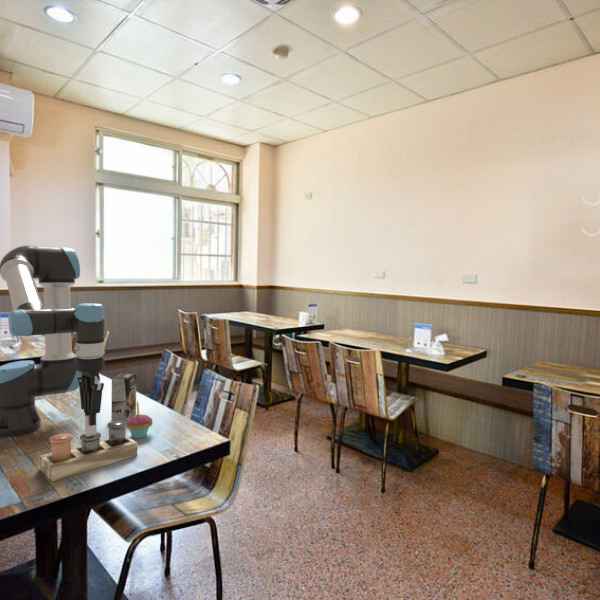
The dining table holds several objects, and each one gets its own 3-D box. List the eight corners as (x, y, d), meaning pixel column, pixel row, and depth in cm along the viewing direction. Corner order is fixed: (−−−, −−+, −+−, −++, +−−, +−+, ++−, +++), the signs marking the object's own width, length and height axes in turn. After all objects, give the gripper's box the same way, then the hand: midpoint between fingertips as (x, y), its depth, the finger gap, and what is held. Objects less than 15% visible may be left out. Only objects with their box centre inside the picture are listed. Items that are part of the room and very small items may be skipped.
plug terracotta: (47, 459, 121) (46, 437, 121) (68, 453, 125) (68, 431, 125) (54, 466, 117) (53, 442, 117) (75, 459, 121) (75, 437, 121)
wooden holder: (40, 469, 122) (39, 455, 122) (122, 445, 140) (122, 433, 139) (52, 481, 115) (52, 467, 115) (137, 455, 133) (137, 442, 133)
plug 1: (77, 457, 127) (76, 435, 127) (96, 451, 131) (96, 430, 131) (84, 463, 123) (84, 441, 123) (104, 457, 127) (104, 435, 127)
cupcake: (122, 434, 148) (122, 401, 147) (145, 429, 154) (146, 396, 153) (132, 442, 142) (132, 407, 141) (156, 436, 148) (157, 402, 147)
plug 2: (104, 444, 133) (104, 423, 132) (121, 439, 137) (121, 419, 137) (112, 449, 129) (112, 428, 129) (130, 444, 133) (130, 423, 133)
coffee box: (127, 420, 162) (127, 378, 161) (110, 420, 162) (110, 378, 161) (136, 412, 171) (137, 372, 170) (120, 412, 171) (120, 372, 170)
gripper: (68, 354, 127) (68, 432, 128) (85, 361, 118) (86, 445, 120) (94, 351, 132) (94, 426, 134) (112, 358, 123) (113, 437, 125)
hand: (90, 434), depth 127 cm, fingers closed
